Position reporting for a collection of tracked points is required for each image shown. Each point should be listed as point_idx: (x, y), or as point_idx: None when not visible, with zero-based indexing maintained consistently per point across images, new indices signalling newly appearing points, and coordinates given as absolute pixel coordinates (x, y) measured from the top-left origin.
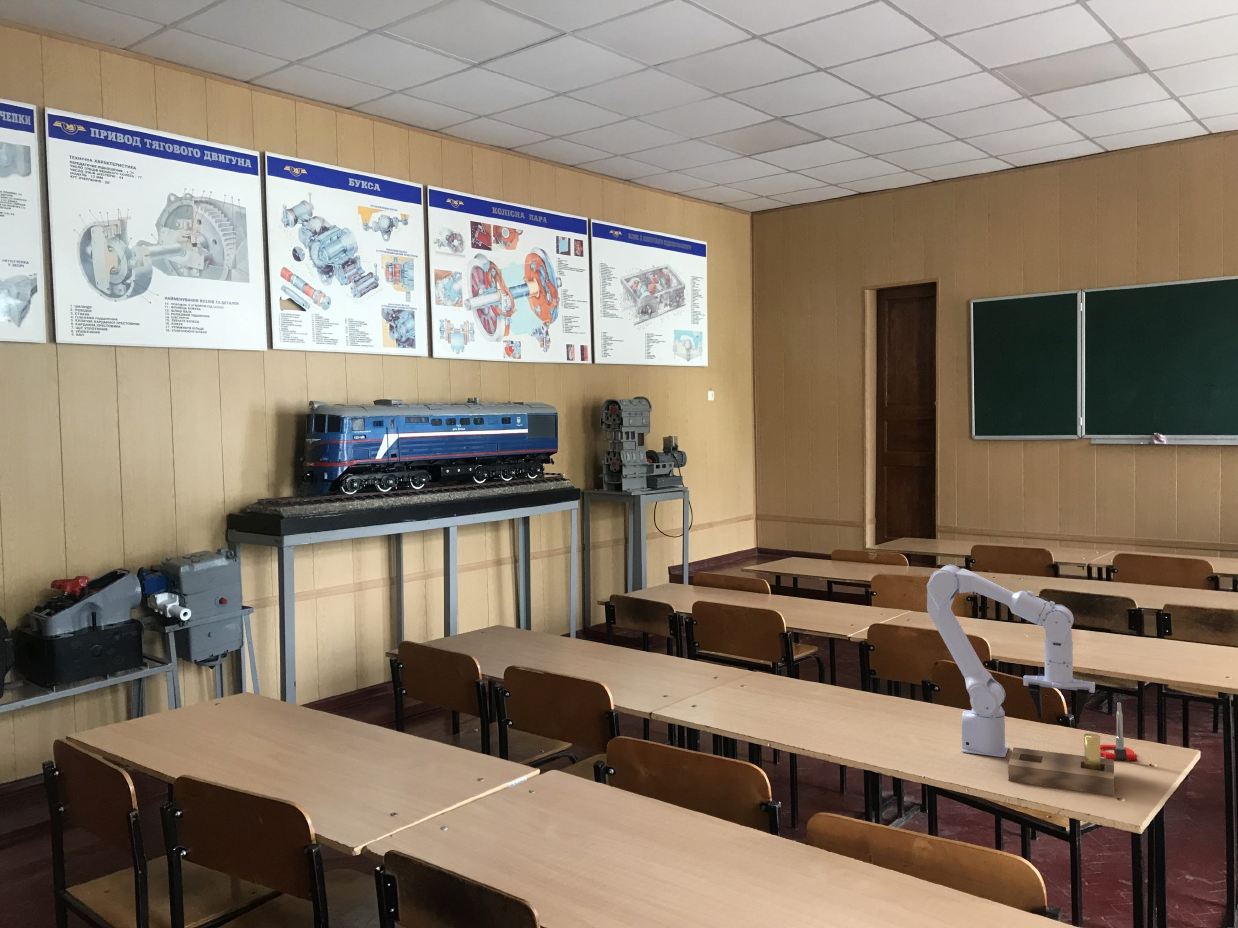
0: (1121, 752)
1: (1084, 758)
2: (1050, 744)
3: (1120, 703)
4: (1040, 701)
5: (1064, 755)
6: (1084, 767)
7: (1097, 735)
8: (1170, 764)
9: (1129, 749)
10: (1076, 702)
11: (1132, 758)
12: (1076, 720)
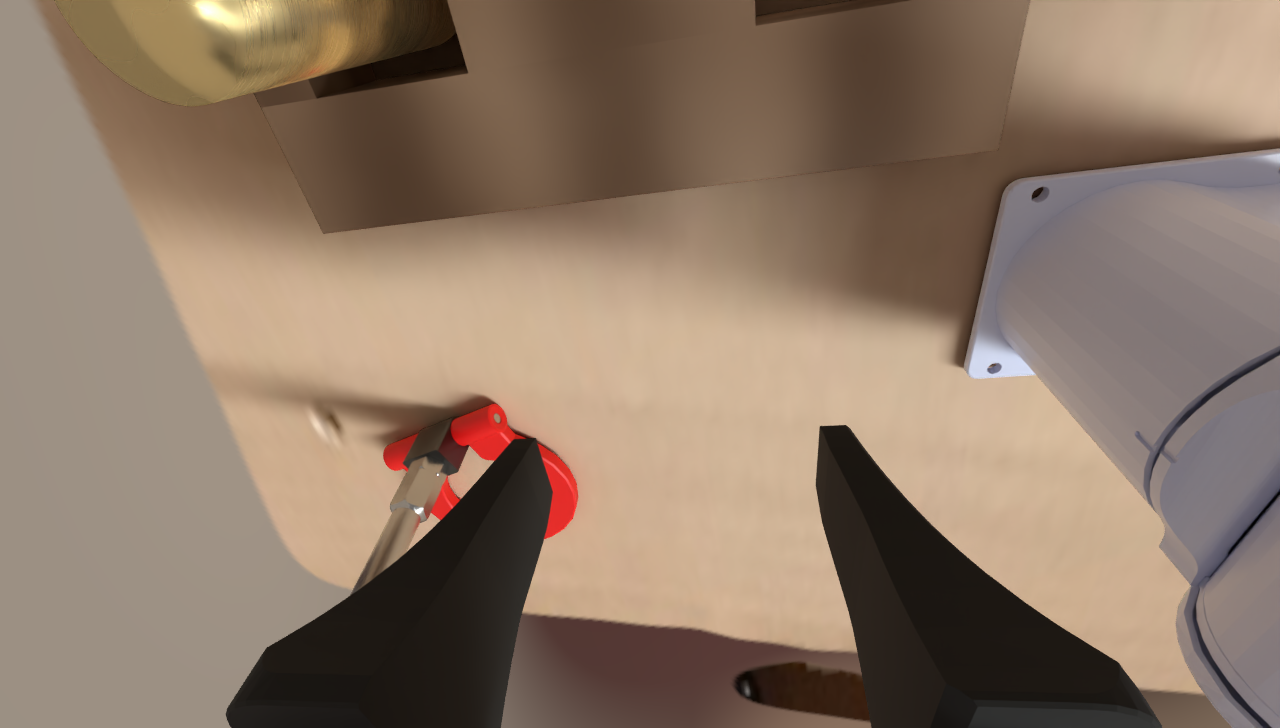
0: (424, 445)
1: (472, 156)
2: (752, 483)
3: None
4: (870, 582)
5: (607, 152)
6: (462, 70)
7: (119, 54)
8: (282, 453)
9: None
10: (437, 591)
11: (400, 441)
12: (519, 450)
